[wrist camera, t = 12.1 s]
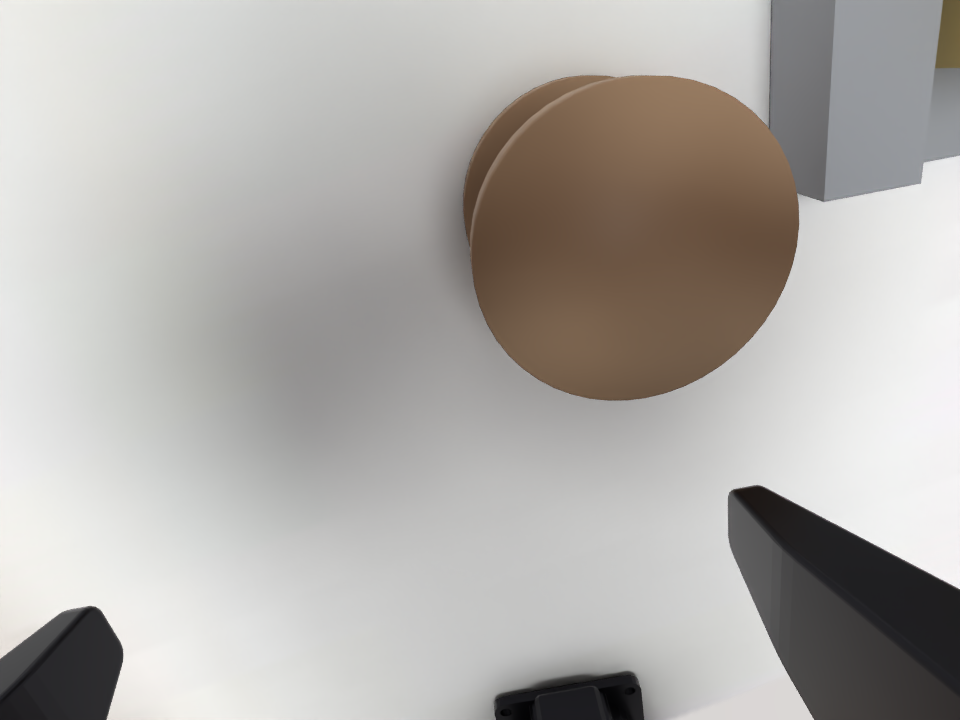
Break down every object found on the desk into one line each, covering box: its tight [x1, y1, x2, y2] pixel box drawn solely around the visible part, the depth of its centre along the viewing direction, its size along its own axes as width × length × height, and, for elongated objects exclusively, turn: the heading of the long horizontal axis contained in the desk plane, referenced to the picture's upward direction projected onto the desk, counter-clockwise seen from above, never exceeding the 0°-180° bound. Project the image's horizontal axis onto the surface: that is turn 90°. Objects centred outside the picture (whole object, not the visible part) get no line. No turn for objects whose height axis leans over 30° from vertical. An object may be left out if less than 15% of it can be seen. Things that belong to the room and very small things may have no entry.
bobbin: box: [463, 76, 799, 400], centre depth 16 cm, size 7×7×6 cm
